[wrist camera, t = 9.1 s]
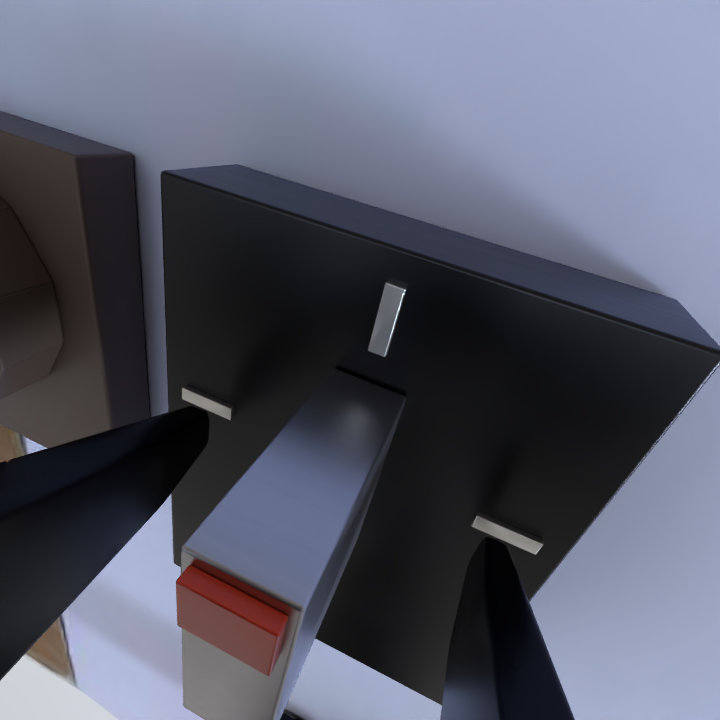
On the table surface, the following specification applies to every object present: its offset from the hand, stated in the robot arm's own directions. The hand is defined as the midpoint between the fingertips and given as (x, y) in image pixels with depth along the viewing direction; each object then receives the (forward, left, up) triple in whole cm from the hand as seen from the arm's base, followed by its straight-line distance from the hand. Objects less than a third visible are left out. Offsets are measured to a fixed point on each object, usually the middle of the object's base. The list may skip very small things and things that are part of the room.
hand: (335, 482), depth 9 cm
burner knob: (0, 0, -1) cm, 1 cm away
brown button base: (-1, +13, -3) cm, 13 cm away
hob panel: (-1, 0, -3) cm, 4 cm away
